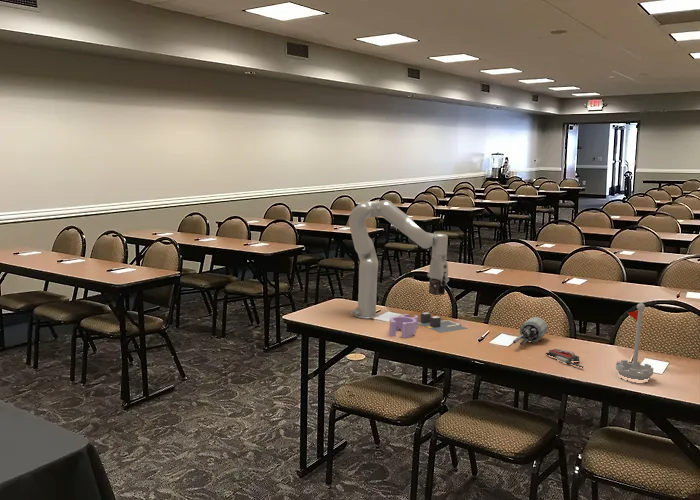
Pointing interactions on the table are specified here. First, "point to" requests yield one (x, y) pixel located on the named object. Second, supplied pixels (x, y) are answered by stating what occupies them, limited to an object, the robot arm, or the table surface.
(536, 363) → the table surface
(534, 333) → the device
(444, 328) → the panel
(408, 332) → the clip
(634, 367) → the flag stand
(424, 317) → the block
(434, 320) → the breaker
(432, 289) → the box
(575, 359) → the walkie-talkie
